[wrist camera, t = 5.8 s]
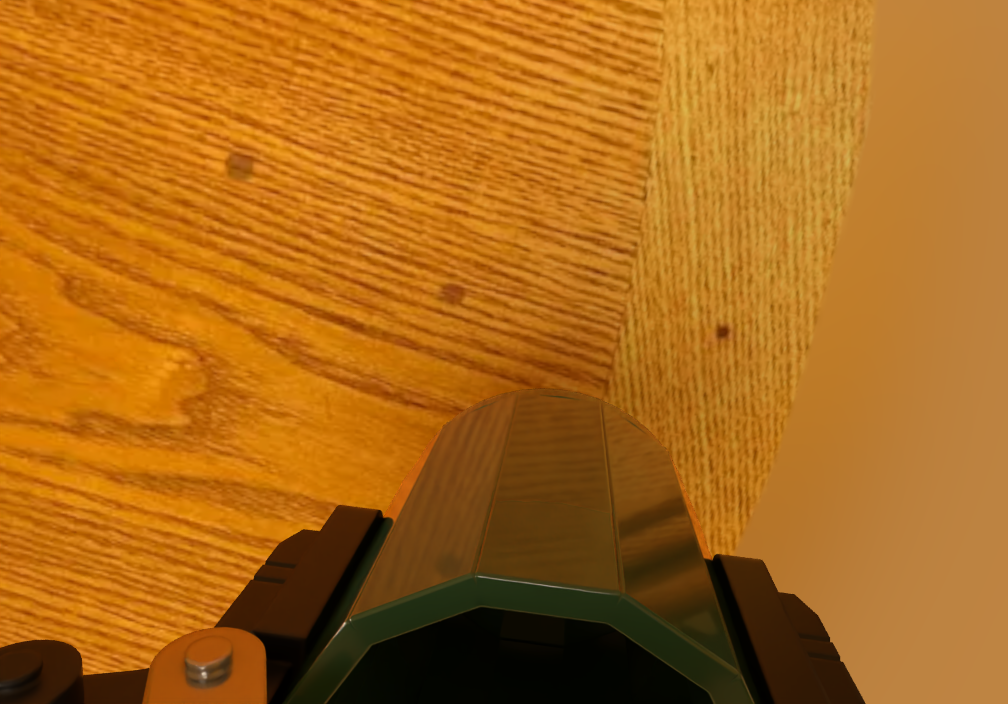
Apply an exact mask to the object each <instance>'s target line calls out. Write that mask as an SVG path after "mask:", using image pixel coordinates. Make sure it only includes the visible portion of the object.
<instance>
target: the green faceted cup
mask: <svg viewBox="0 0 1008 704" xmlns="http://www.w3.org/2000/svg"><path fill="white" fill-rule="evenodd" d="M282 704H762V701H761V698H760V695H759V693H758V690H757V687H756V684H755V681H754V678H753V675H752V673H751V670H750V667H749V664H748V661H747V658H746V655H745V652H744V650H743V647H742V644H741V641H740V638H739V635H738V632H737V629H736V627H735V624H734V621H733V618H732V615H731V612H730V609H729V606H728V604H727V601H726V598H725V595H724V592H723V589H722V586H721V583H720V581H719V578H718V575H717V572H716V569H715V566H714V563H713V560H712V558H711V555H710V552H709V549H708V546H707V543H706V540H705V537H704V535H703V532H702V529H701V526H700V523H699V520H698V517H697V515H696V513H695V510H694V508H693V506H692V504H691V501H690V499H689V497H688V494H687V492H686V490H685V487H684V485H683V482H682V479H681V476H680V474H679V472H678V470H677V468H676V466H675V464H674V462H673V460H672V458H671V455H670V453H669V452H668V451H667V449H666V448H665V447H663V446H662V444H661V443H660V442H659V441H658V440H657V439H656V438H655V436H654V435H653V434H652V433H651V432H650V431H649V430H648V429H647V428H646V427H644V426H643V425H642V424H641V423H639V422H638V421H637V420H636V419H635V418H633V417H632V416H630V415H629V414H627V413H625V412H624V411H622V410H621V409H619V408H617V407H615V406H613V405H611V404H609V403H607V402H604V401H602V400H600V399H598V398H594V397H591V396H588V395H585V394H581V393H577V392H571V391H566V390H560V389H528V390H519V391H514V392H509V393H504V394H500V395H497V396H495V397H492V398H489V399H486V400H483V401H481V402H479V403H477V404H475V405H473V406H471V407H469V408H467V409H466V410H464V411H463V412H461V413H460V414H458V415H457V416H456V417H454V418H453V419H452V420H450V421H449V422H447V423H446V424H445V425H443V427H442V428H441V429H440V430H439V431H438V433H437V434H436V435H435V436H434V437H433V439H432V440H431V441H430V442H429V443H428V445H427V446H426V448H425V449H424V451H423V453H422V454H421V456H420V457H419V459H418V461H417V462H416V464H415V465H414V466H413V468H412V469H411V470H410V472H409V473H408V475H407V476H406V477H405V479H404V480H403V482H402V483H401V485H400V487H399V489H398V491H397V493H396V494H395V496H394V498H393V500H392V502H391V504H390V505H389V507H388V509H387V511H386V513H385V515H384V516H383V518H382V520H381V522H380V524H379V526H378V527H377V529H376V531H375V533H374V535H373V537H372V539H371V540H370V542H369V544H368V546H367V548H366V550H365V551H364V553H363V555H362V557H361V559H360V561H359V562H358V564H357V566H356V568H355V570H354V572H353V573H352V575H351V577H350V579H349V581H348V583H347V584H346V586H345V588H344V590H343V592H342V594H341V595H340V597H339V599H338V601H337V603H336V605H335V606H334V608H333V610H332V612H331V614H330V616H329V617H328V619H327V621H326V623H325V625H324V627H323V628H322V630H321V632H320V634H319V636H318V638H317V639H316V641H315V643H314V645H313V647H312V649H311V650H310V652H309V654H308V656H307V658H306V660H305V661H304V663H303V665H302V667H301V669H300V671H299V672H298V674H297V676H296V678H295V680H294V682H293V683H292V685H291V687H290V689H289V691H288V693H287V694H286V696H285V698H284V700H283V702H282Z"/></svg>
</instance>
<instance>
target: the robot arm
mask: <svg viewBox="0 0 1008 704" xmlns="http://www.w3.org/2000/svg"><path fill="white" fill-rule="evenodd" d="M382 518H383V514H382V511H381V510H376V509H368V508H360V507H352V506H345V505H339V506H337V507H336V509H335V510H334V512H333V513H332V514H331V516H330V517H329V519H328V520H327V522H326V523H325V525H324V526H323V527H322V529H321V530H320V531H313V530H305V529H303V530H301V531H300V532H298V533H296V534H295V535H293V536H291V537H289V538H288V539H286V540H284V541H283V542H281V543H279V545H278V546H277V547H276V549H275V550H274V551H273V552H272V554H271V555H270V556H269V558H268V559H267V560H266V563H265V565H262V567H261V568H260V569H259V570H258V572H257V573H256V574H255V576H254V579H253V580H251V581H250V582H249V583H248V585H247V586H246V587H245V588H244V590H243V591H242V592H241V594H240V595H239V596H238V597H237V599H236V600H235V601H234V602H233V604H232V605H231V606H230V608H229V609H228V610H227V611H226V613H225V614H224V615H223V617H222V618H221V619H220V620H219V622H218V623H217V624H216V626H215V627H214V628H208V629H202V630H199V631H195V632H192V633H189V634H186V635H184V636H182V637H180V638H178V639H176V640H174V641H172V642H171V643H169V644H168V645H167V646H165V647H164V648H163V649H162V650H161V651H160V652H159V653H158V654H157V655H156V656H155V658H154V659H153V661H152V663H151V665H150V668H147V669H142V670H134V671H124V672H113V673H102V674H92V675H83V668H82V658H81V655H80V653H79V652H78V651H77V649H76V648H74V647H73V646H71V645H69V644H67V643H64V642H60V641H55V640H32V641H25V642H20V643H15V644H11V645H8V646H5V647H2V648H0V704H282V702H283V700H284V698H285V696H286V694H287V693H288V691H289V689H290V687H291V685H292V683H293V682H294V680H295V678H296V676H297V674H298V672H299V671H300V669H301V667H302V665H303V663H304V661H305V660H306V658H307V656H308V654H309V652H310V650H311V649H312V647H313V645H314V643H315V641H316V639H317V638H318V636H319V634H320V632H321V630H322V628H323V627H324V625H325V623H326V621H327V619H328V617H329V616H330V614H331V612H332V610H333V608H334V606H335V605H336V603H337V601H338V599H339V597H340V595H341V594H342V592H343V590H344V588H345V586H346V584H347V583H348V581H349V579H350V577H351V575H352V573H353V572H354V570H355V568H356V566H357V564H358V562H359V561H360V559H361V557H362V555H363V553H364V551H365V550H366V548H367V546H368V544H369V542H370V540H371V539H372V537H373V535H374V533H375V531H376V529H377V527H378V526H379V524H380V522H381V520H382ZM713 563H714V566H715V569H716V572H717V575H718V578H719V581H720V583H721V586H722V589H723V592H724V595H725V598H726V601H727V604H728V606H729V609H730V612H731V615H732V618H733V621H734V624H735V627H736V629H737V632H738V635H739V638H740V641H741V644H742V647H743V650H744V652H745V655H746V658H747V661H748V664H749V667H750V670H751V673H752V675H753V678H754V681H755V684H756V687H757V690H758V693H759V695H760V698H761V701H762V704H865V702H864V700H863V698H862V696H861V694H860V693H859V691H858V689H857V687H856V685H855V683H854V682H853V680H852V678H851V676H850V674H849V672H848V670H847V669H846V667H845V665H844V663H843V662H841V661H840V656H839V654H838V652H837V650H836V648H835V646H834V644H833V643H832V642H830V637H829V636H828V633H827V631H826V630H825V628H824V626H823V624H822V622H821V620H820V618H819V617H818V615H817V614H816V613H815V612H813V611H812V610H811V609H810V608H809V607H808V606H807V605H805V603H803V602H802V601H801V600H800V599H799V598H798V597H797V596H796V595H794V594H788V593H780V592H778V590H777V588H776V586H775V584H774V582H773V580H772V578H771V576H770V574H769V572H768V570H767V568H766V565H765V563H764V562H763V561H762V560H760V559H752V558H745V557H737V556H729V555H722V554H716V555H715V556H714V558H713Z"/></svg>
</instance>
